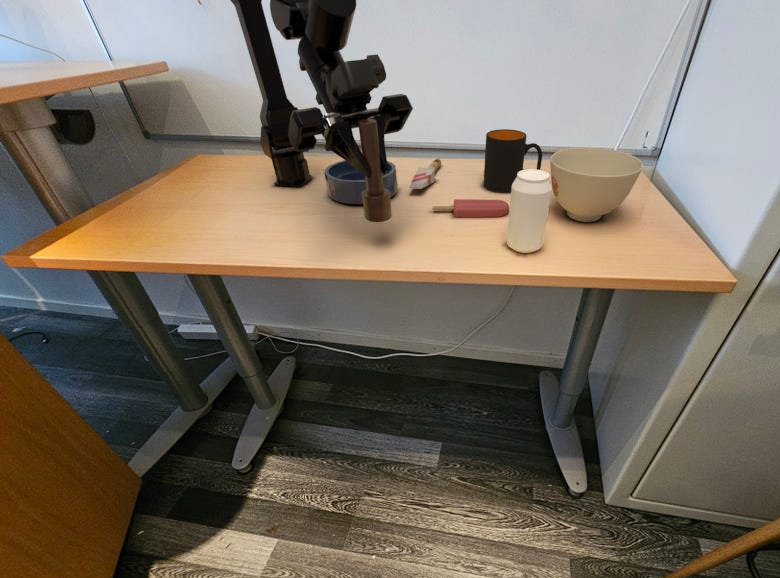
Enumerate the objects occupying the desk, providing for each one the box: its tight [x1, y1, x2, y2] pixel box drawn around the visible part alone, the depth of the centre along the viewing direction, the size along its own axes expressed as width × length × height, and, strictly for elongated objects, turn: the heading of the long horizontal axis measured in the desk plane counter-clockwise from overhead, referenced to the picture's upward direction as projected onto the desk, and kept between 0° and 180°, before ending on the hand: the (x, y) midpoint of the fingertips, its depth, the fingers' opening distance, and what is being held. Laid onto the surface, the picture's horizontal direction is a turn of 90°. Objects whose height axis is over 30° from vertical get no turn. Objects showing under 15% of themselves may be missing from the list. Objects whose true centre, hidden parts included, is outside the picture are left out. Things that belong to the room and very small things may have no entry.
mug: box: [483, 128, 543, 194], centre depth 88 cm, size 8×12×10 cm
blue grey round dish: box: [323, 159, 398, 205], centre depth 88 cm, size 15×15×5 cm
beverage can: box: [506, 168, 553, 254], centre depth 67 cm, size 6×6×12 cm
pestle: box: [358, 119, 393, 223], centre depth 63 cm, size 4×4×14 cm
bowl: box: [549, 147, 644, 223], centre depth 77 cm, size 16×16×10 cm
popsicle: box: [432, 198, 510, 218], centre depth 81 cm, size 5×2×15 cm
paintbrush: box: [408, 158, 442, 190], centre depth 94 cm, size 4×3×20 cm
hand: (377, 174), depth 62 cm, fingers closed on pestle, 2 cm apart
